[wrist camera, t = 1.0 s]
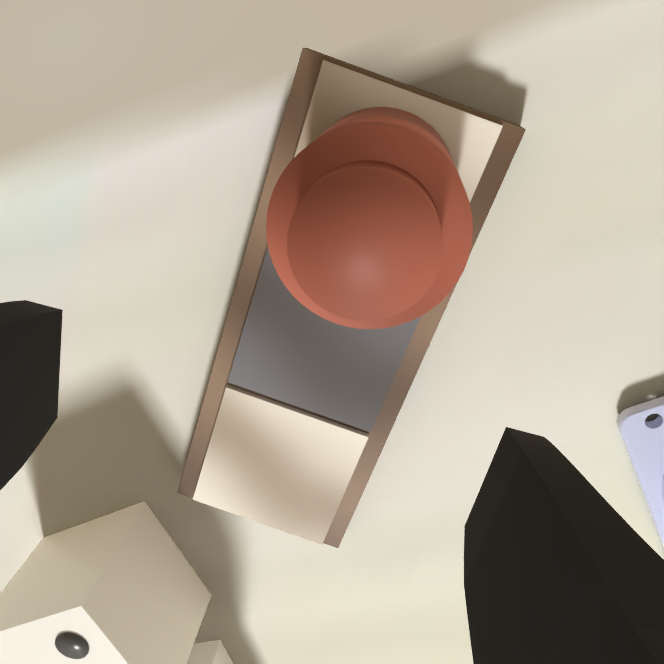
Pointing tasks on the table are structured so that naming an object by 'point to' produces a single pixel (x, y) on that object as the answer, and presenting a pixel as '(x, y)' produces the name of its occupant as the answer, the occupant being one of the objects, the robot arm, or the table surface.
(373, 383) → the board
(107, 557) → the die
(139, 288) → the table surface
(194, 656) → the bracket
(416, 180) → the pawn
